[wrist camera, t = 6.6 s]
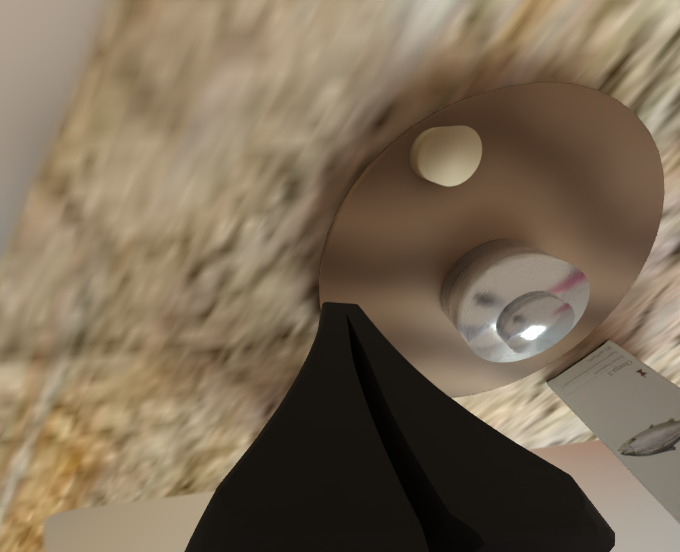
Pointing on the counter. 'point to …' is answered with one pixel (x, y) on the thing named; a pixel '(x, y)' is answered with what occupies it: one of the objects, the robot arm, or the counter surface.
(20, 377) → the counter surface
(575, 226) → the turntable top
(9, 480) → the counter surface
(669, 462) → the supplement box
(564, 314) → the aluminium cover
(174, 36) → the counter surface
